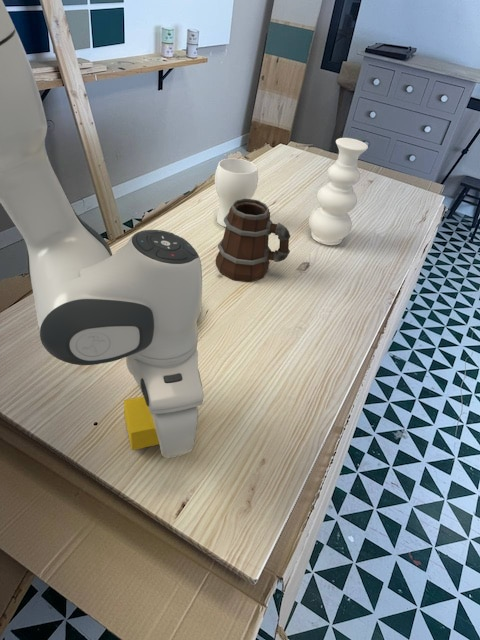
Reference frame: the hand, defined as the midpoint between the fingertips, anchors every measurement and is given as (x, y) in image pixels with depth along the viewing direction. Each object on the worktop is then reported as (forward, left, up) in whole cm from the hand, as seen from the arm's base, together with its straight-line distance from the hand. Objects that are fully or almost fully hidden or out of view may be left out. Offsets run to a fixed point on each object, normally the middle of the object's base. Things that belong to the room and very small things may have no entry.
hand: (159, 420), depth 68 cm
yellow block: (0, 0, -2) cm, 2 cm away
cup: (+32, +60, -3) cm, 68 cm away
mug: (+29, +38, -3) cm, 48 cm away
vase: (+54, +48, -3) cm, 73 cm away
